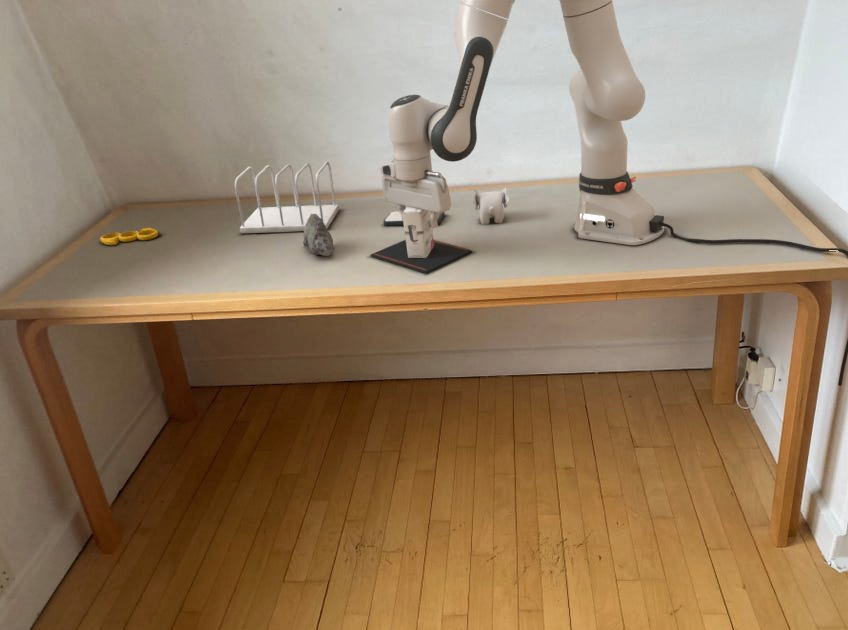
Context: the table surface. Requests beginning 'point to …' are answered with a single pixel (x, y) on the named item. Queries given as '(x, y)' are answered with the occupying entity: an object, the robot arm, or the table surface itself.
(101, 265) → the table surface
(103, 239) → the yellow linked rings
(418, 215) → the ink box
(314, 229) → the mineral rock
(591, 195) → the robot arm
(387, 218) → the smartphone
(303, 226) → the file sorter
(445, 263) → the mat
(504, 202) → the elephant figurine
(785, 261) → the table surface
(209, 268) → the table surface
